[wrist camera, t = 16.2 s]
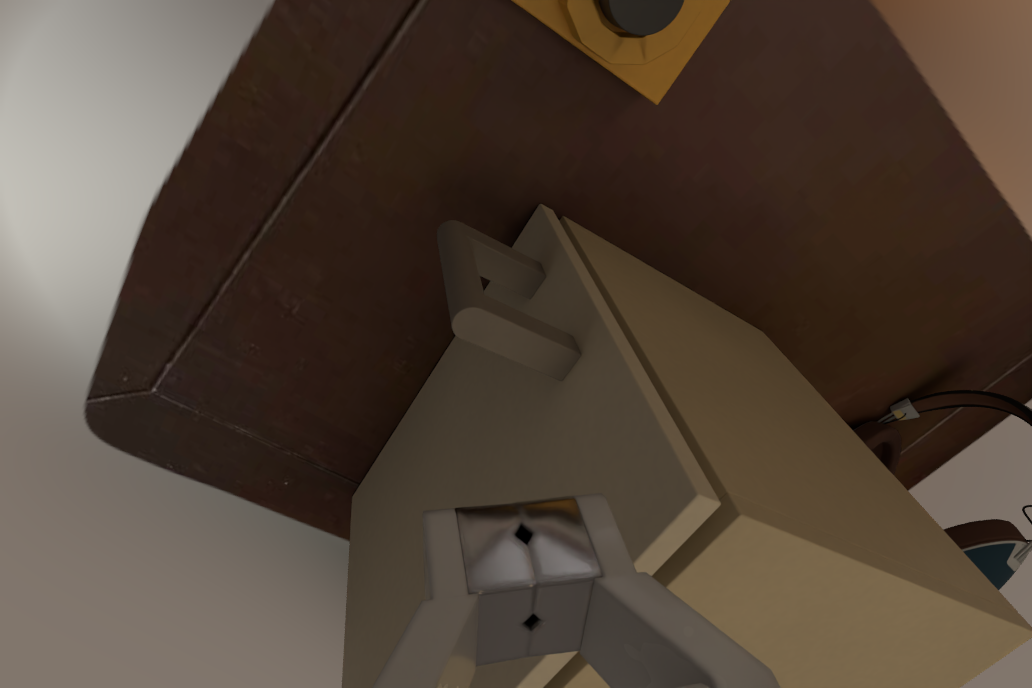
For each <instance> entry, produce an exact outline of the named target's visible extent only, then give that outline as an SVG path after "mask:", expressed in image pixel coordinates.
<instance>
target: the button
mask: <svg viewBox="0 0 1032 688" xmlns="http://www.w3.org/2000/svg"><path fill="white" fill-rule="evenodd" d="M683 3H684V0H599V5H600V8H601V10H602V12H603V14H604V16H605V17H606V18H607V20H608V21H609V22H610V23H612V24H613V25H614V26H616V27H618V28H620V29H622V30H624V31H626V32H628V33H630V34H633V35H638V36H647V35H652V34H655V33H657V32H659V31H661V30H663V29H664V28H666V27H667V26H668V25H669V24H670V23H671V22H672V21H673V20H674V19H675V18H676V16H677V15H678V13H679V11H680V10H681V8H682V5H683Z"/></svg>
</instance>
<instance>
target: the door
mask: <svg viewBox="0 0 1032 688" xmlns="http://www.w3.org/2000/svg"><path fill="white" fill-rule="evenodd" d="M437 241H438V247H439V253H440V259H441V265H442V271H443V278H444V284H445V290H446V296H447V302H448V308H449V314H450V320H451V326H452V330H453V332H454V334H455V335H456V336H455V337H454V339H453V340H452V342H451V343H450V345H449V346H448V348H447V350H446V351H445V353H444V354H443V356H442V357H441V359H440V361H439V362H438V364H437V365H436V367H435V368H434V370H433V371H432V373H431V375H430V376H429V378H428V379H427V381H426V382H425V384H424V386H423V387H422V389H421V390H420V392H419V393H418V395H417V397H416V398H415V400H414V401H413V403H412V404H411V406H410V407H409V409H408V411H407V412H406V414H405V415H404V417H403V418H402V420H401V422H400V423H399V425H398V426H397V428H396V429H395V431H394V432H393V434H392V436H391V437H390V439H389V440H388V442H387V443H386V445H385V447H384V448H383V450H382V451H381V453H380V454H379V456H378V458H377V459H376V461H375V462H374V464H373V465H372V467H371V468H370V470H369V472H368V473H367V475H366V476H365V478H364V479H363V481H362V483H361V484H360V486H359V487H358V489H357V490H356V492H355V493H354V495H353V497H352V511H351V529H350V548H349V566H348V585H347V603H346V622H345V639H344V659H343V677H342V688H372V687H373V685H374V683H375V681H376V680H377V678H378V676H379V674H380V673H381V671H382V669H383V667H384V666H385V664H386V662H387V660H388V659H389V657H390V655H391V653H392V652H393V650H394V648H395V646H396V645H397V643H398V641H399V639H400V638H401V636H402V634H403V632H404V631H405V629H406V627H407V625H408V624H409V622H410V620H411V618H412V617H413V615H414V613H415V611H416V610H417V608H418V606H419V604H420V603H421V601H423V600H426V597H425V583H424V560H423V517H422V514H423V511H427V510H439V509H451V508H454V510H455V508H459V507H472V506H484V505H497V504H510V503H513V502H522V501H530V500H539V499H548V498H556V497H565V496H571V497H572V496H577V495H587V494H596V493H602V494H603V495H604V496H605V497H606V499H607V501H608V504H609V506H610V508H611V511H612V513H613V516H614V518H615V521H616V523H617V525H618V528H619V530H620V533H621V535H622V537H623V540H624V542H625V545H626V547H627V549H628V552H629V554H630V557H631V559H632V562H633V564H634V566H635V569H636V571H637V573H639V572H647V573H648V574H649V575H650V576H652V575H653V574H654V573H655V572H656V571H657V570H658V569H659V568H660V567H661V566H662V565H663V564H664V563H665V562H666V561H667V560H668V559H669V558H670V556H671V555H672V554H673V553H674V552H675V551H676V550H677V549H678V548H679V547H680V546H681V545H682V544H683V543H684V542H685V541H686V540H687V539H688V538H689V537H690V536H691V535H692V534H693V533H694V532H695V531H696V530H697V529H698V528H699V527H700V526H701V525H702V524H703V523H704V522H705V520H706V519H707V518H708V517H709V516H710V515H711V514H712V513H713V512H714V511H715V510H716V509H717V508H718V507H719V506H720V505H721V503H720V501H719V499H718V497H717V496H716V494H715V492H714V490H713V489H712V487H711V485H710V483H709V482H708V480H707V478H706V476H705V475H704V473H703V471H702V469H701V468H700V466H699V464H698V462H697V461H696V459H695V457H694V455H693V454H692V452H691V450H690V448H689V447H688V445H687V443H686V442H685V440H684V438H683V436H682V435H681V433H680V431H679V429H678V428H677V426H676V424H675V422H674V421H673V419H672V417H671V415H670V414H669V412H668V410H667V408H666V407H665V405H664V403H663V401H662V400H661V398H660V396H659V394H658V393H657V391H656V389H655V387H654V386H653V384H652V382H651V380H650V379H649V377H648V375H647V373H646V372H645V370H644V368H643V367H642V365H641V363H640V361H639V360H638V358H637V356H636V354H635V353H634V351H633V349H632V347H631V346H630V344H629V342H628V340H627V339H626V337H625V335H624V333H623V332H622V330H621V328H620V326H619V325H618V323H617V321H616V319H615V318H614V316H613V314H612V312H611V311H610V309H609V307H608V305H607V304H606V302H605V300H604V299H603V297H602V295H601V293H600V292H599V290H598V288H597V286H596V285H595V283H594V281H593V279H592V278H591V276H590V274H589V272H588V271H587V269H586V267H585V265H584V264H583V262H582V260H581V258H580V257H579V255H578V253H577V251H576V250H575V248H574V246H573V244H572V243H571V241H570V239H569V237H568V236H567V234H566V232H565V230H564V229H563V227H562V225H561V224H560V222H559V220H558V218H557V217H556V215H555V213H554V211H553V210H551V209H550V208H548V207H546V206H544V205H542V204H539V206H538V207H537V209H536V210H535V212H534V214H533V215H532V217H531V218H530V220H529V221H528V223H527V224H526V226H525V228H524V229H523V231H522V232H521V234H520V235H519V237H518V239H517V240H516V242H515V243H514V245H513V246H512V248H510V247H508V246H506V245H504V244H502V243H500V242H498V241H497V240H495V239H493V238H491V237H489V236H487V235H485V234H483V233H481V232H479V231H477V230H475V229H473V228H471V227H469V226H467V225H465V224H463V223H461V222H459V221H456V220H449V221H446V222H444V223H443V224H441V225H440V227H439V228H438V230H437ZM479 275H480V276H482V277H484V278H486V279H488V280H490V282H489V284H488V285H487V287H486V289H485V290H484V291H483V287H482V283H481V280H480V276H479ZM577 652H578V651H575V652H567V653H558V654H550V655H542V656H534V657H526V658H520V659H515V660H509V661H504V662H498V663H492V664H487V665H481V666H476V671H475V674H474V676H473V679H472V681H471V684H470V686H469V688H543V687H544V686H545V685H546V684H547V683H548V682H549V681H550V680H551V679H552V678H553V677H554V676H555V675H556V674H557V673H558V672H559V671H560V670H561V669H562V668H563V667H564V666H565V664H566V663H567V662H568V661H569V660H570V659H571V658H572V657H573V656H574V655H575V654H576V653H577Z"/></svg>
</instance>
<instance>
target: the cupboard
mask: <svg viewBox="0 0 1032 688" xmlns="http://www.w3.org/2000/svg"><path fill="white" fill-rule="evenodd" d="M559 222H560V224H561V225H562V227H563V229H564V230H565V232H566V234H567V236H568V237H569V239H570V241H571V243H572V244H573V246H574V248H575V250H576V251H577V253H578V255H579V257H580V258H581V260H582V262H583V264H584V265H585V267H586V269H587V271H588V272H589V274H590V276H591V278H592V279H593V281H594V283H595V285H596V286H597V288H598V290H599V292H600V293H601V295H602V297H603V299H604V300H605V302H606V304H607V305H608V307H609V309H610V311H611V312H612V314H613V316H614V318H615V319H616V321H617V323H618V325H619V326H620V328H621V330H622V332H623V333H624V335H625V337H626V339H627V340H628V342H629V344H630V346H631V347H632V349H633V351H634V353H635V354H636V356H637V358H638V360H639V361H640V363H641V365H642V367H643V368H644V370H645V372H646V373H647V375H648V377H649V379H650V380H651V382H652V384H653V386H654V387H655V389H656V391H657V393H658V394H659V396H660V398H661V400H662V401H663V403H664V405H665V407H666V408H667V410H668V412H669V414H670V415H671V417H672V419H673V421H674V422H675V424H676V426H677V428H678V429H679V431H680V433H681V435H682V436H683V438H684V440H685V442H686V443H687V445H688V447H689V448H690V450H691V452H692V454H693V455H694V457H695V459H696V461H697V462H698V464H699V466H700V468H701V469H702V471H703V473H704V475H705V476H706V478H707V480H708V482H709V483H710V485H711V487H712V489H713V490H714V492H715V494H716V496H717V497H718V499H719V501H720V503H721V505H720V506H719V507H718V508H717V509H716V510H715V511H714V512H713V513H712V514H711V515H710V516H709V517H708V518H707V519H706V520H705V522H704V523H703V524H702V525H701V526H700V527H699V528H698V529H697V530H696V531H695V532H694V533H693V534H692V535H691V536H690V537H689V538H688V539H687V540H686V541H685V542H684V543H683V544H682V545H681V546H680V547H679V548H678V549H677V550H676V551H675V552H674V553H673V554H672V555H671V556H670V558H669V559H668V560H667V561H666V562H665V563H664V564H663V565H662V566H661V567H660V568H659V569H658V570H657V571H656V572H655V573H654V574H653V575H652V577H653V578H654V579H656V580H657V581H658V582H659V583H661V584H662V585H663V586H665V587H666V588H667V589H668V590H670V591H671V592H672V593H674V594H675V595H676V596H677V597H679V598H680V599H681V600H683V601H684V602H685V603H686V604H688V605H689V606H690V607H692V608H693V609H694V610H695V611H697V612H698V613H699V614H701V615H702V616H703V617H704V618H706V619H707V620H708V621H710V622H711V623H712V624H713V625H715V626H716V627H717V628H718V629H720V630H721V631H722V632H724V633H725V634H726V635H727V636H729V637H730V638H731V639H733V640H734V641H735V642H736V643H738V644H739V645H740V646H742V647H743V648H744V649H745V650H747V651H748V652H749V653H751V654H752V655H753V656H754V657H756V658H757V659H758V660H760V661H761V662H762V663H763V664H765V665H766V666H767V667H769V668H770V669H771V670H772V672H773V674H774V676H775V678H776V680H777V681H778V683H779V685H780V687H781V688H960V687H961V686H963V685H964V684H966V683H967V682H968V681H970V680H971V679H973V678H974V677H976V676H977V675H979V674H980V673H982V672H983V671H984V670H986V669H987V668H989V667H990V666H991V665H993V664H994V663H996V662H997V661H999V660H1000V659H1002V658H1003V657H1004V656H1006V655H1007V654H1009V653H1010V652H1012V651H1013V650H1014V649H1016V648H1017V647H1019V646H1020V645H1022V644H1023V643H1025V642H1026V641H1028V640H1029V639H1031V638H1032V627H1031V626H1030V625H1029V624H1028V623H1027V622H1026V620H1025V619H1024V618H1023V617H1022V616H1021V615H1020V614H1019V613H1018V612H1017V610H1016V609H1014V607H1013V606H1012V605H1011V604H1010V603H1009V602H1008V601H1007V600H1006V598H1004V596H1003V595H1002V594H1001V593H1000V592H999V591H998V590H997V588H996V587H995V586H994V585H993V584H992V583H991V582H990V581H989V580H988V579H987V578H986V576H985V575H984V574H983V573H982V572H981V571H980V570H979V569H978V568H977V567H976V565H975V564H974V563H973V562H972V561H971V560H970V559H969V558H968V557H967V556H966V554H965V553H964V552H963V551H962V550H961V549H960V548H959V547H958V546H957V545H956V543H955V542H954V541H953V540H952V539H951V538H950V537H949V536H948V535H947V534H946V532H945V531H944V530H943V529H942V528H941V527H940V526H939V525H938V524H937V523H936V521H934V519H932V517H931V516H930V515H929V514H928V513H927V512H926V511H925V509H924V508H923V507H922V506H921V505H920V504H919V503H918V502H917V501H916V500H915V498H913V496H912V495H911V494H910V493H909V492H908V491H907V490H906V489H905V487H904V486H903V485H902V484H901V483H900V482H899V481H898V480H897V479H896V478H895V476H894V475H893V474H892V473H891V472H890V471H889V470H888V469H887V468H886V467H885V465H884V464H883V463H882V462H881V461H880V460H879V459H878V458H877V457H876V456H875V454H874V453H873V452H872V451H871V450H870V449H869V448H868V447H867V446H866V445H865V443H864V442H863V441H862V440H861V439H860V438H859V437H858V436H857V435H856V434H855V432H854V431H853V430H852V429H851V428H850V427H849V426H848V425H847V424H846V423H845V422H844V420H843V419H842V418H841V417H840V416H839V415H838V414H837V413H836V412H835V411H834V409H833V408H832V407H831V406H830V405H829V404H828V403H827V402H826V401H825V400H824V398H823V397H822V396H821V395H820V394H819V393H818V392H817V391H816V390H815V389H814V387H813V386H812V385H811V384H810V383H809V382H808V381H807V380H806V379H805V378H804V376H803V375H802V374H801V373H800V372H799V371H798V370H797V369H796V368H795V367H794V365H793V364H792V363H791V362H790V361H789V360H788V359H787V358H786V357H785V356H784V354H783V353H782V352H781V351H780V350H779V349H778V348H777V347H776V346H775V345H774V344H773V342H772V341H771V340H770V339H769V338H768V337H767V336H766V335H765V334H764V333H763V332H762V331H761V330H759V329H757V328H756V327H754V326H752V325H750V324H749V323H747V322H745V321H743V320H742V319H740V318H738V317H737V316H735V315H733V314H731V313H730V312H728V311H726V310H725V309H723V308H721V307H719V306H718V305H716V304H714V303H713V302H711V301H709V300H707V299H706V298H704V297H702V296H700V295H699V294H697V293H695V292H694V291H692V290H690V289H688V288H687V287H685V286H683V285H682V284H680V283H678V282H676V281H675V280H673V279H671V278H670V277H668V276H666V275H664V274H663V273H661V272H659V271H657V270H656V269H654V268H652V267H651V266H649V265H647V264H645V263H644V262H642V261H640V260H639V259H637V258H635V257H633V256H632V255H630V254H628V253H627V252H625V251H623V250H621V249H620V248H618V247H616V246H614V245H613V244H611V243H609V242H608V241H606V240H604V239H602V238H601V237H599V236H597V235H596V234H594V233H592V232H590V231H589V230H587V229H585V228H584V227H582V226H580V225H578V224H577V223H575V222H573V221H571V220H570V219H568V218H566V217H565V216H562V218H561V219H560V221H559ZM543 688H610V687H609V686H608V684H607V683H606V682H605V681H604V680H603V679H602V678H601V677H600V676H599V674H598V673H597V672H596V671H595V670H594V669H593V668H592V667H591V666H590V665H589V663H588V662H587V661H586V660H585V659H584V658H583V657H582V656H581V655H580V651H578V652H577V653H576V654H575V655H574V656H573V657H572V658H571V659H570V660H569V661H568V662H567V663H566V664H565V666H564V667H563V668H562V669H561V670H560V671H559V672H558V673H557V674H556V675H555V676H554V677H553V678H552V679H551V680H550V681H549V682H548V683H547V684H546V685H545V686H544V687H543Z"/></svg>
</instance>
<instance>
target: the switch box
mask: <svg viewBox="0 0 1032 688" xmlns="http://www.w3.org/2000/svg"><path fill="white" fill-rule="evenodd" d="M511 1H513V2H514V3H516V4H517V5H518V6H520V7H521V8H522V9H524V10H525V11H527V12H528V13H529V14H531V15H532V16H534V17H535V18H536V19H538V20H539V21H540V22H542V23H543V24H545V25H546V26H547V27H549V28H550V29H552V30H553V31H554V32H556V33H557V34H558V35H560V36H561V37H563V38H564V39H565V40H567V41H568V42H570V43H571V44H572V45H574V46H575V47H576V48H578V49H579V50H581V51H582V52H583V53H585V54H586V55H588V56H589V57H590V58H592V59H593V60H594V61H596V62H597V63H599V64H600V65H601V66H603V67H604V68H606V69H607V70H608V71H610V72H611V73H612V74H614V75H615V76H617V77H618V78H619V79H621V80H622V81H624V82H625V83H626V84H628V85H629V86H630V87H632V88H633V89H635V90H636V91H637V92H639V93H640V94H642V95H643V96H644V97H646V98H647V99H649V100H650V101H652V102H653V103H654V104H656V105H658V104H659V102H660V101H661V99H662V98H663V96H664V95H665V94H666V92H667V91H668V89H669V88H670V86H671V85H672V84H673V82H674V81H675V79H676V78H677V76H678V75H679V74H680V72H681V71H682V69H683V68H684V66H685V65H686V64H687V62H688V61H689V59H690V58H691V56H692V55H693V54H694V52H695V51H696V49H697V48H698V46H699V45H700V43H701V42H702V41H703V39H704V38H705V36H706V35H707V33H708V32H709V31H710V29H711V28H712V26H713V25H714V23H715V22H716V21H717V19H718V18H719V16H720V15H721V13H722V12H723V11H724V9H725V8H726V6H727V5H728V3H729V2H730V0H684V3H683V5H682V8H681V10H680V11H679V13H678V15H677V16H676V18H675V19H674V20H673V21H672V22H671V23H670V24H669V25H668V26H667V27H666V28H664V29H663V30H661V31H659V32H657V33H655V34H652V35H647V36H638V35H633V34H630V33H628V32H626V31H624V30H622V29H620V28H618V27H616V26H614V25H613V24H612V23H610V22H609V21H608V20H607V18H606V17H605V16H604V14H603V12H602V10H601V8H600V5H599V0H511Z"/></svg>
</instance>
